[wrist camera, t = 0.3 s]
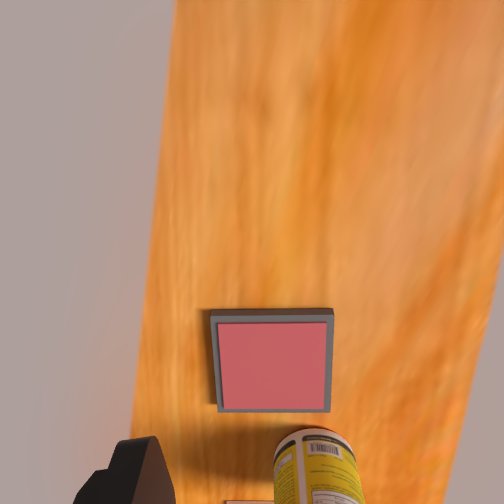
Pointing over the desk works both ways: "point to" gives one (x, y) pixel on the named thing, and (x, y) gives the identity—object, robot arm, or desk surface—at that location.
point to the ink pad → (273, 360)
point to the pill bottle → (316, 470)
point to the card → (250, 502)
